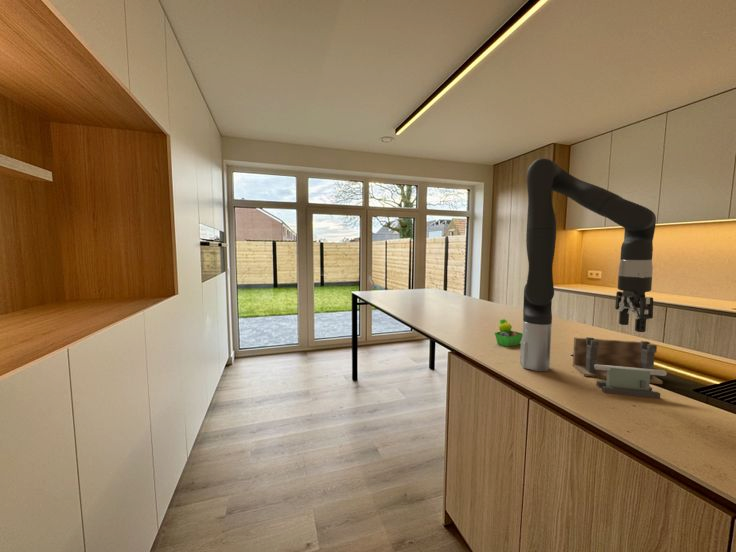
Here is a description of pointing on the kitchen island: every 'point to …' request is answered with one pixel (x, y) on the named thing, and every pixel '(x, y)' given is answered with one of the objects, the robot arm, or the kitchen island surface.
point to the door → (629, 376)
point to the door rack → (628, 390)
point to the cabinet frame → (612, 355)
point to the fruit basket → (507, 334)
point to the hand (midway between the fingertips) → (631, 328)
